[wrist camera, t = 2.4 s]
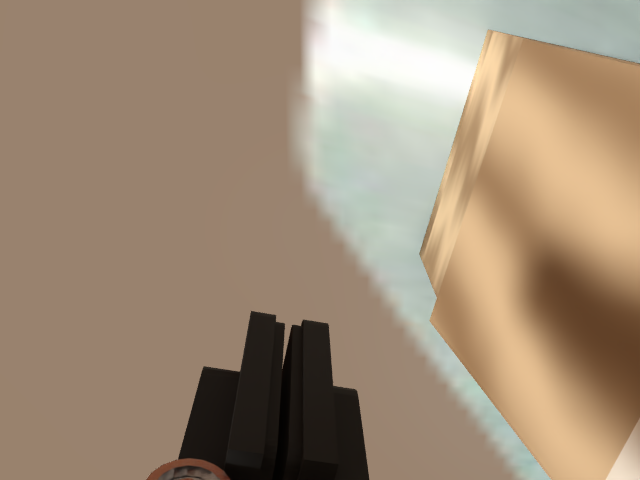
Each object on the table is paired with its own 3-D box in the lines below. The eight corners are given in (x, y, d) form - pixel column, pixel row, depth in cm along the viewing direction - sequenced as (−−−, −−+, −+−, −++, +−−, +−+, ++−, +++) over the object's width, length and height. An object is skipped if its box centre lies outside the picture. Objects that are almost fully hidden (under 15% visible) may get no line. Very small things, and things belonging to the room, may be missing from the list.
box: (488, 29, 31) (541, 43, 24) (719, 81, 33) (837, 109, 25) (419, 253, 37) (446, 320, 30) (619, 290, 38) (692, 362, 31)
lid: (542, 43, 24) (519, 37, 23) (945, 139, 12) (910, 131, 11) (446, 321, 29) (426, 320, 29) (654, 577, 17) (624, 582, 17)
